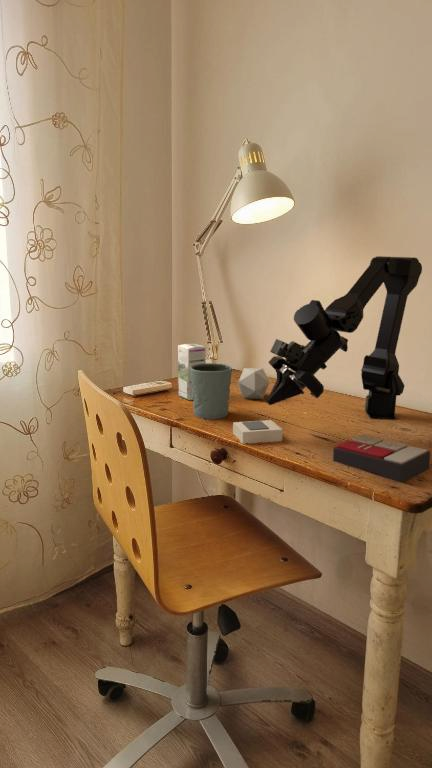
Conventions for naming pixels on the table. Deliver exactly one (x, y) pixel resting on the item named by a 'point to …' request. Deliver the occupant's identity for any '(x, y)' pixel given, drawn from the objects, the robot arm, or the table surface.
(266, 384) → the die
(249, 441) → the white box grey panel
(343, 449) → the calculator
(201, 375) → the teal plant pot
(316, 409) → the table surface
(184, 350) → the syrup box
